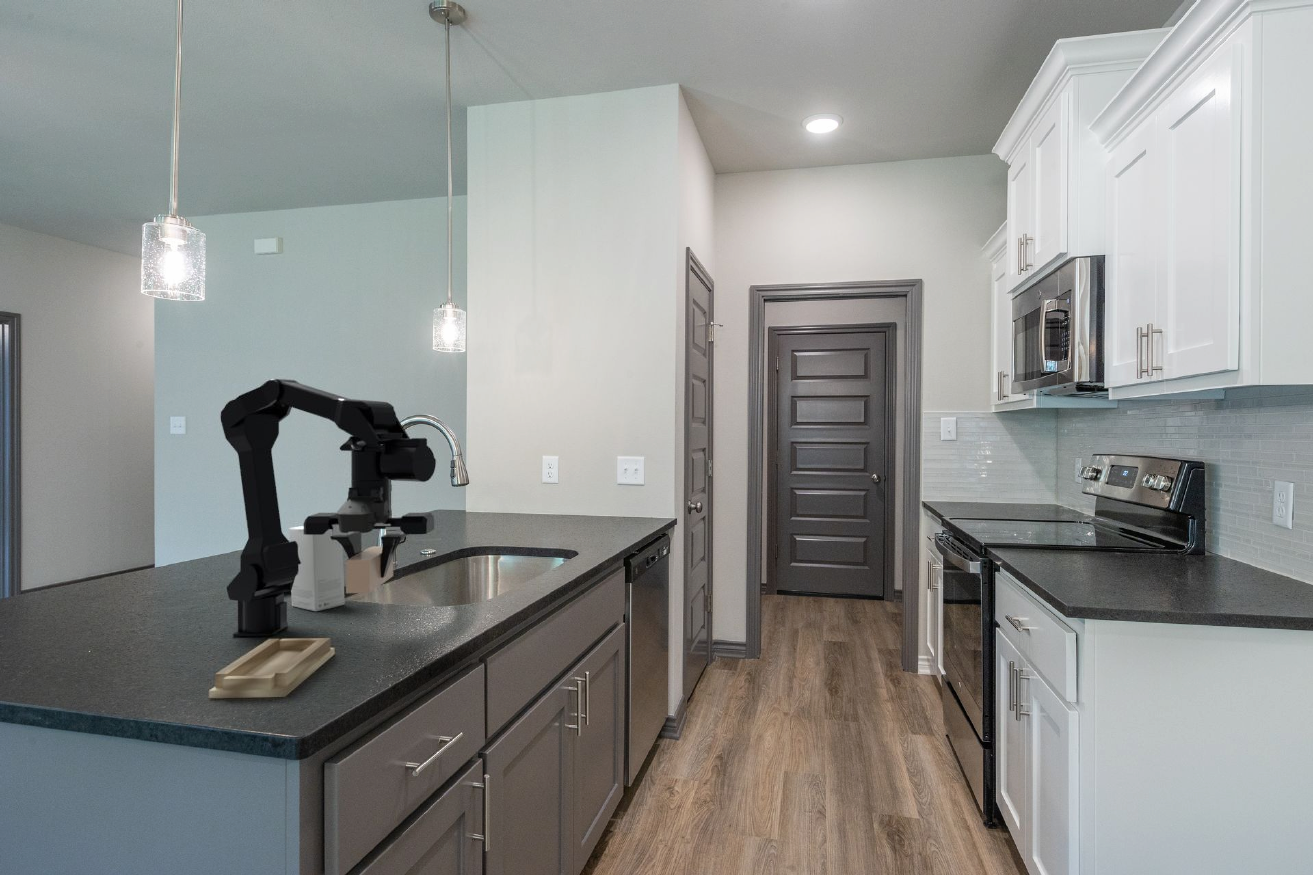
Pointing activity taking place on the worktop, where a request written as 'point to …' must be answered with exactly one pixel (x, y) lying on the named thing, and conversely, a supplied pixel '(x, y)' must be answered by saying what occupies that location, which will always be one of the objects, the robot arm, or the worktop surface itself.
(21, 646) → the worktop surface
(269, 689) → the tray
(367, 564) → the clay bar
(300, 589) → the skincare box
